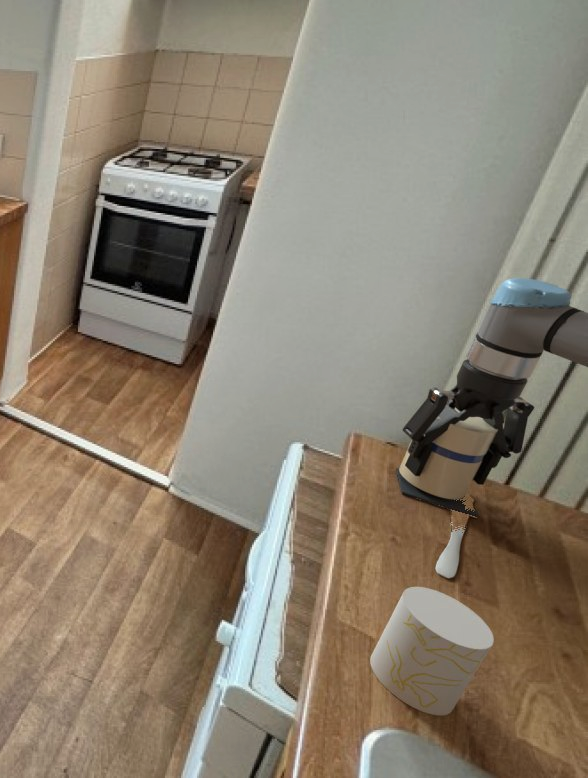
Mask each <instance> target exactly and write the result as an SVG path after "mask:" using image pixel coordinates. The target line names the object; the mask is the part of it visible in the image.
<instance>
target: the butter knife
mask: <svg viewBox="0 0 588 778" xmlns="http://www.w3.org/2000/svg"><path fill="white" fill-rule="evenodd" d="M451 523H453V522H451ZM451 523H450V526H451V525H452V526H453V524H451ZM462 526H463V525H462ZM458 527H460V526H458ZM464 527H465V526H464ZM455 528H457V527H455ZM462 528H463V527H461V528H458V529H460V530H458V529H454V530H452V531H453V532H451V531H450V539H449V540H448V543H447V545H446V547H445V548H444V550H443V551H442V552H441V553H440V555H439V558H438V559H437V562H436V565H435V571H436V573H437V574H438V575H439V576H441V577H443V578H445V579H451V578H454V577H455V576H456V574H457V570H458V566H459V562H460V550H461V544H462V539H463V537H464V533H465V532H466V528H464V529H465V530H463V529H462ZM455 530H457V531H455ZM462 530H463V531H462ZM462 532H463V533H462Z"/></svg>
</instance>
